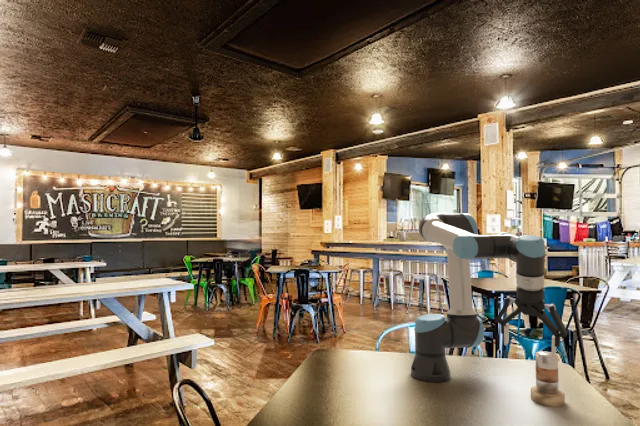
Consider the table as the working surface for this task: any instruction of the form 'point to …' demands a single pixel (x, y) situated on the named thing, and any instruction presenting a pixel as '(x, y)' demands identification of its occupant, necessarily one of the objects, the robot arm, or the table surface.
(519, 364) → the table surface
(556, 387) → the can
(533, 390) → the stand
